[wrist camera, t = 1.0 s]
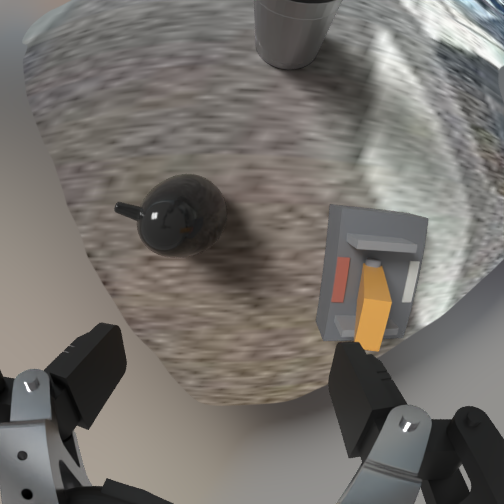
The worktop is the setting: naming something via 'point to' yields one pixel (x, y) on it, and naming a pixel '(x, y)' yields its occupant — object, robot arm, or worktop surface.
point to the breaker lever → (372, 306)
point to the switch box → (354, 255)
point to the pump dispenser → (179, 216)
